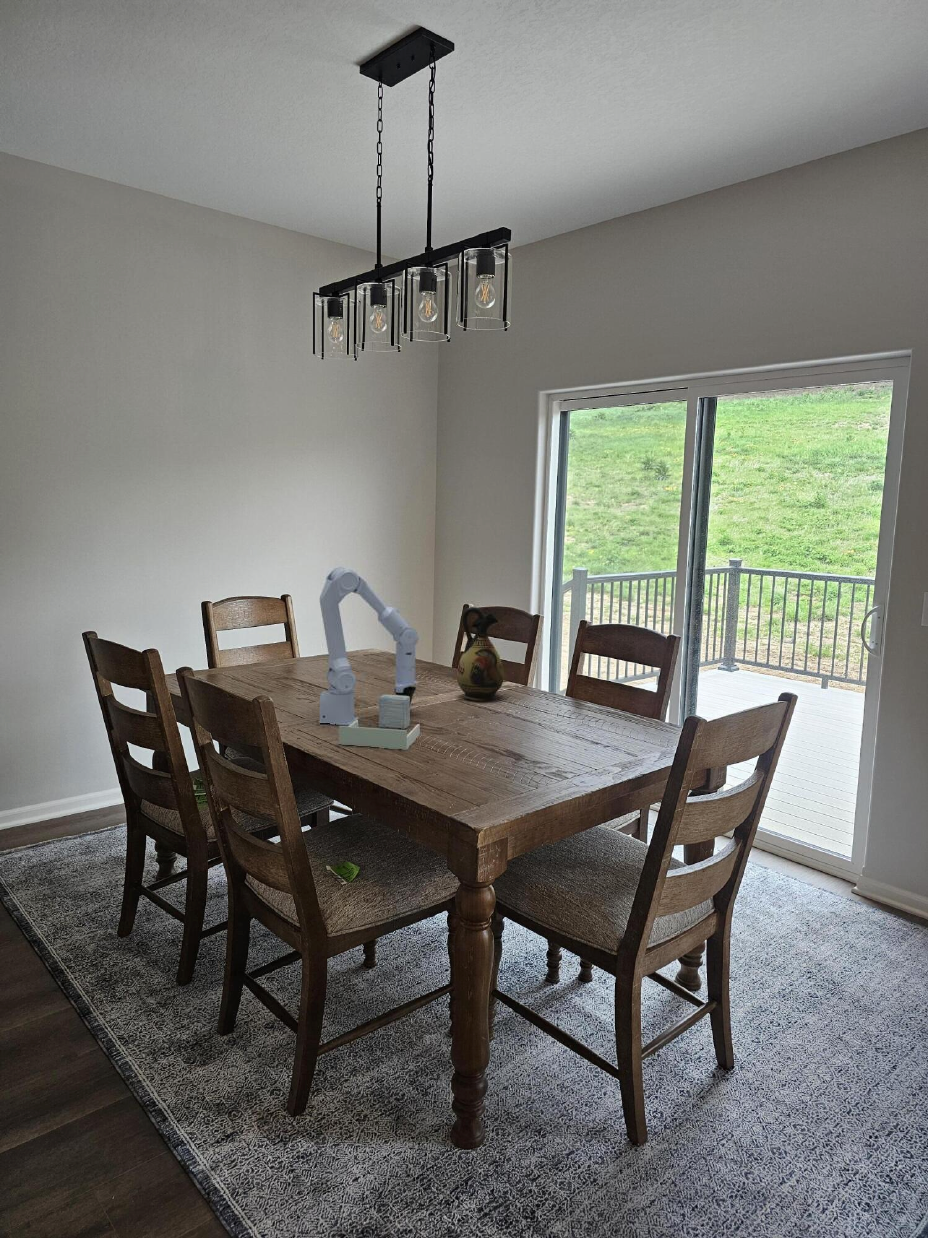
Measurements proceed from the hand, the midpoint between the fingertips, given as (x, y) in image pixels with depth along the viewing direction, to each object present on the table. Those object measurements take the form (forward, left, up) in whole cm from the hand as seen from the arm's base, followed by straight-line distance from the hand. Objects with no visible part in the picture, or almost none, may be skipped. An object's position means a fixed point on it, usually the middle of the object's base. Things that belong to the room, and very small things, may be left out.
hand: (405, 711), depth 241 cm
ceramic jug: (+17, +29, -2) cm, 34 cm away
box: (0, -26, -1) cm, 26 cm away
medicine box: (0, -12, -2) cm, 12 cm away
